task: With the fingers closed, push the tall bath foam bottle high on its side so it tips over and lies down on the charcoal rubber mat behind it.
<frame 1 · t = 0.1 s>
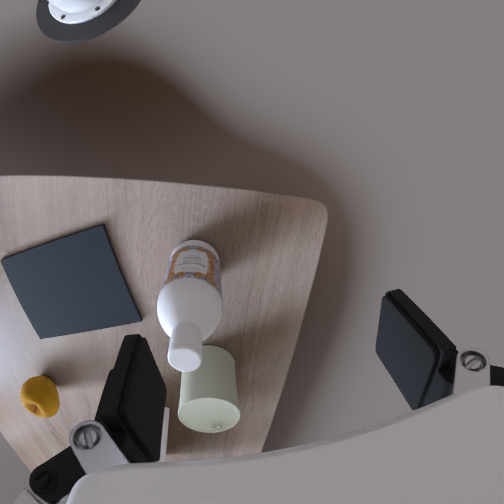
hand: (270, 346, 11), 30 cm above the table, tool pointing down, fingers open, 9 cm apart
apple: (47, 381, 49), on the table
can: (208, 364, 50), on the table
bath foam: (195, 261, 42), on the table
gable box: (136, 427, 56), on the table
mat: (65, 289, 41), on the table
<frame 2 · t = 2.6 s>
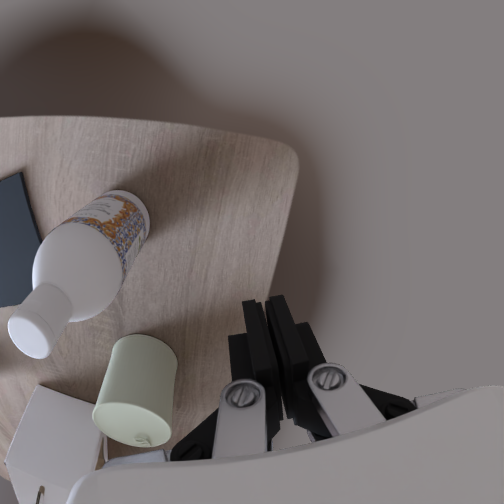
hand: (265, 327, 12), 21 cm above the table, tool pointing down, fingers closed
can: (144, 359, 38), on the table
bath foam: (120, 220, 30), on the table
gable box: (75, 427, 43), on the table
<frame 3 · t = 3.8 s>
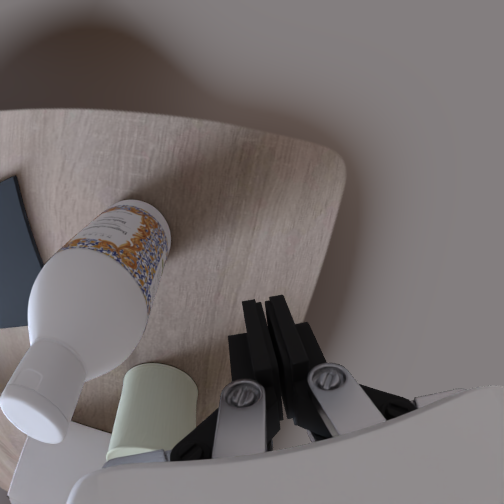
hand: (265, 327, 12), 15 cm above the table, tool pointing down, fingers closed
can: (160, 388, 33), on the table
bath foam: (134, 235, 26), on the table
gable box: (81, 451, 39), on the table
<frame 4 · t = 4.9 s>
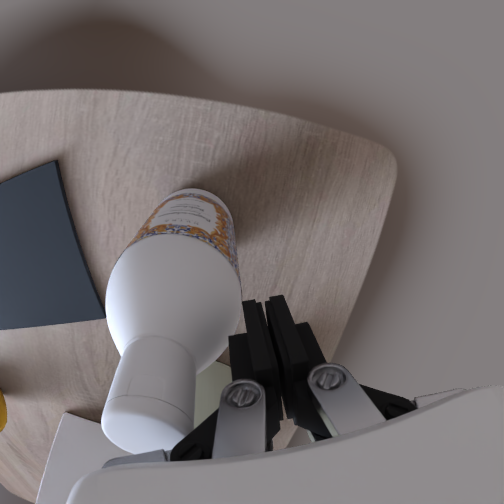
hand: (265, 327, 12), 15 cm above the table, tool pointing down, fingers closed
can: (203, 385, 33), on the table
bath foam: (193, 226, 26), on the table, touching gripper
gable box: (105, 454, 39), on the table
mat: (3, 262, 25), on the table
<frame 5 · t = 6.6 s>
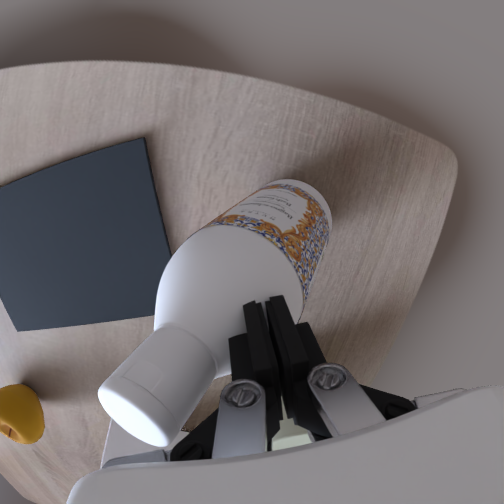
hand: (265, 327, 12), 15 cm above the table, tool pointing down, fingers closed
apple: (28, 391, 32), on the table
can: (275, 376, 34), on the table
bath foam: (291, 218, 25), point 1 cm above the table
gable box: (150, 456, 39), on the table
mat: (60, 251, 25), on the table
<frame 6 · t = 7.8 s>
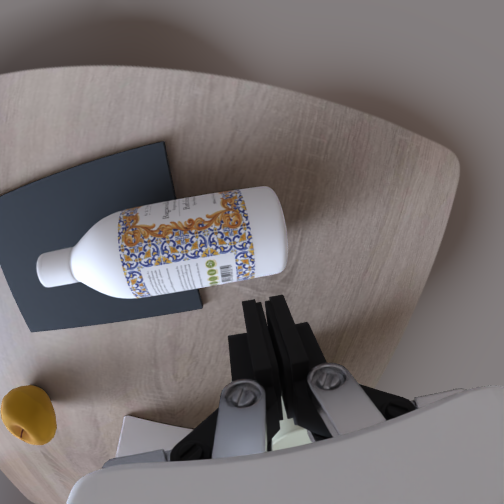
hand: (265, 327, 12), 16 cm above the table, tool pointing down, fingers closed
apple: (39, 392, 33), on the table
can: (286, 373, 35), on the table
bath foam: (279, 228, 24), point 3 cm above the table, touching mat
gable box: (161, 456, 40), on the table
mat: (78, 252, 26), on the table
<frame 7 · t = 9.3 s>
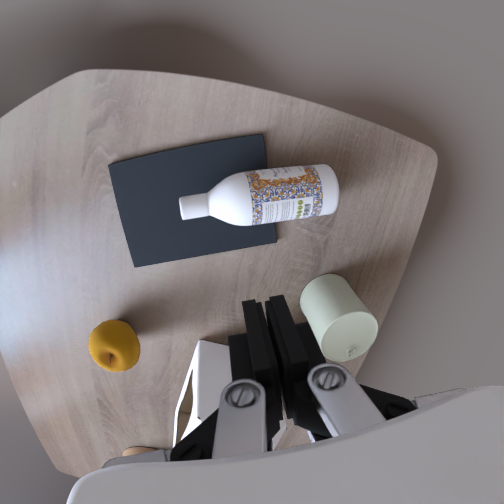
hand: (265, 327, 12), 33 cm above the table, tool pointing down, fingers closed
apple: (120, 328, 49), on the table
can: (325, 297, 51), on the table
bath foam: (331, 188, 41), point 3 cm above the table, touching mat
gable box: (217, 385, 57), on the table
mat: (193, 202, 43), on the table
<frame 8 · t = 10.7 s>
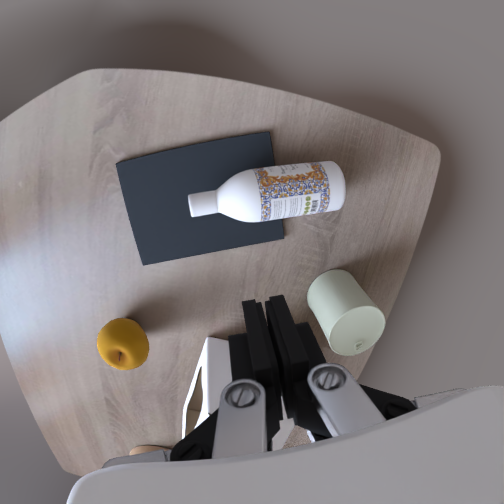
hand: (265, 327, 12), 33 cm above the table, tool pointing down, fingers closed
apple: (129, 326, 50), on the table
can: (331, 292, 52), on the table
bath foam: (337, 185, 41), point 3 cm above the table, touching mat
gable box: (225, 381, 57), on the table
mat: (201, 199, 43), on the table
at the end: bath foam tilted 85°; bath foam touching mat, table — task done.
